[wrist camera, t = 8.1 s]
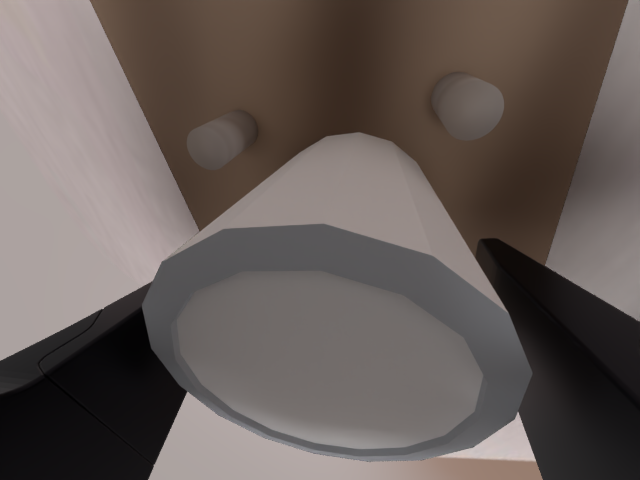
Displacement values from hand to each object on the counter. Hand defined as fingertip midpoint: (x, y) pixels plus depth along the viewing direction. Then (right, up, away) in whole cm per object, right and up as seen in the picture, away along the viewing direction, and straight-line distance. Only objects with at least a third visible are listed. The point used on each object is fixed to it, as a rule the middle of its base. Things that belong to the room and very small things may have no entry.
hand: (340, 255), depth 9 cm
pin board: (+1, +2, +3) cm, 4 cm away
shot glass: (+1, +2, +2) cm, 3 cm away
